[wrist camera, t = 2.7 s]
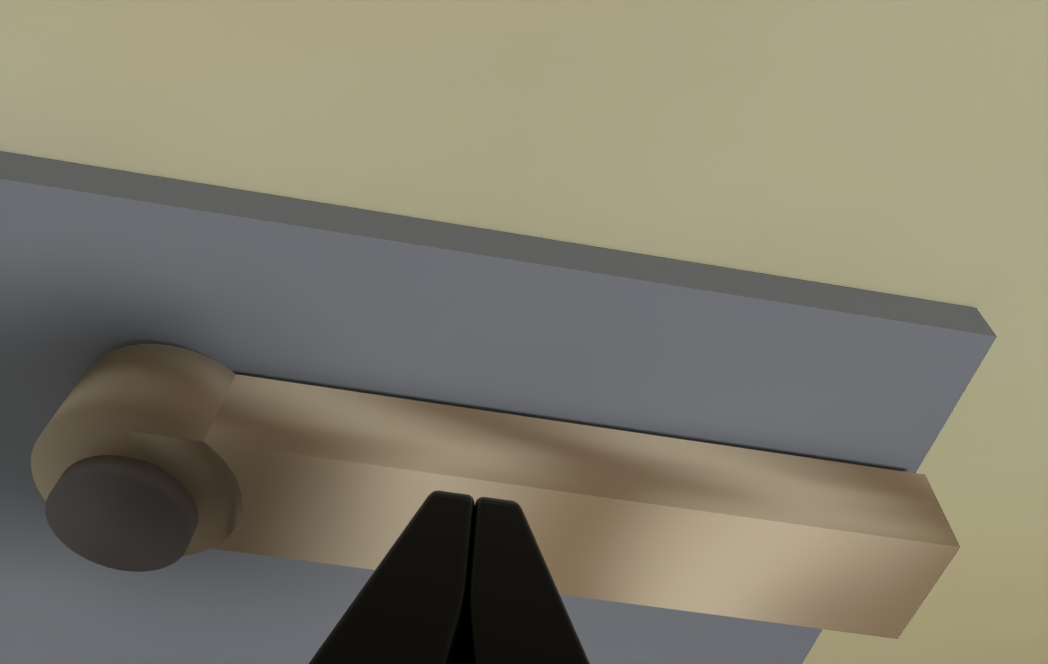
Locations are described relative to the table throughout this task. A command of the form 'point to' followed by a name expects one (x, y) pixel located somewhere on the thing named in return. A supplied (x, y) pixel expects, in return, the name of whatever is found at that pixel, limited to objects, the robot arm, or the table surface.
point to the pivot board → (418, 384)
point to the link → (477, 494)
